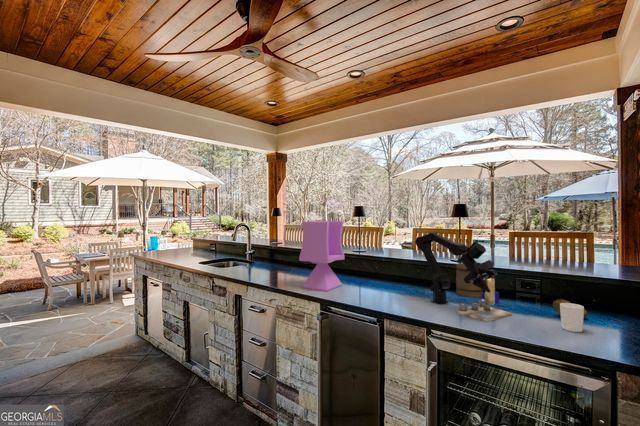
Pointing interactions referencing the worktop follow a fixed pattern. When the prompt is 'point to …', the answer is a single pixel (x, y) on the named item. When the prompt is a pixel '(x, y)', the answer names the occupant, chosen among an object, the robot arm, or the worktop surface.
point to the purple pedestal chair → (322, 253)
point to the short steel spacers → (475, 306)
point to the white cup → (572, 316)
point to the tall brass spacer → (491, 295)
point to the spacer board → (492, 310)
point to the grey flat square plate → (485, 315)
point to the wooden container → (461, 286)
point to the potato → (557, 302)
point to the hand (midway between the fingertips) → (492, 291)
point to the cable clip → (495, 297)
